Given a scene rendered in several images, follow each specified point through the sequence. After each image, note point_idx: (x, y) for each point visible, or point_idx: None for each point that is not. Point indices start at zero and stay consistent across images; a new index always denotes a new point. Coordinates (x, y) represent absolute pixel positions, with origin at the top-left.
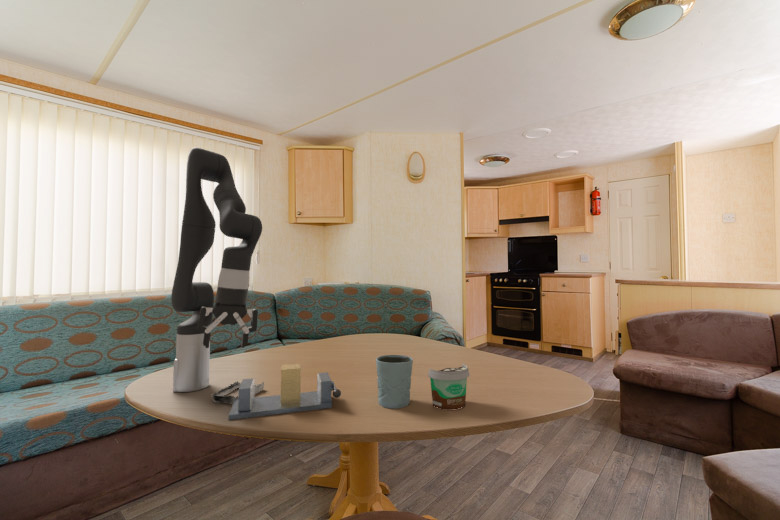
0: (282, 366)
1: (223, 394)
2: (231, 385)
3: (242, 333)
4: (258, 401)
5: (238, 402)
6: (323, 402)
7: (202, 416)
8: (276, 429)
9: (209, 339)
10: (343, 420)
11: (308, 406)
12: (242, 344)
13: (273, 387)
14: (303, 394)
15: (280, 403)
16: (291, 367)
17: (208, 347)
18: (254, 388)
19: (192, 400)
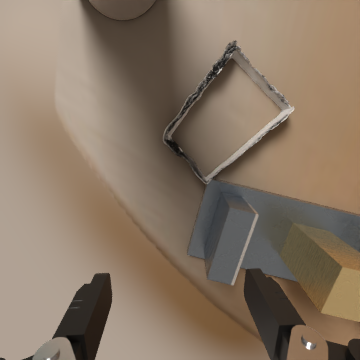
0: (339, 282)
1: (192, 104)
2: (214, 72)
3: (276, 326)
4: None
5: (205, 261)
6: None
7: (148, 209)
8: (244, 317)
9: (99, 339)
10: (340, 339)
11: None
12: (250, 309)
13: (312, 102)
14: (342, 226)
15: (281, 250)
16: (355, 305)
17: (110, 301)
18: (250, 205)
19: (128, 100)
